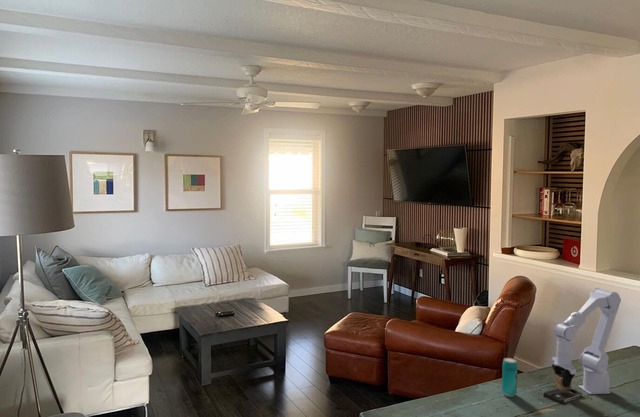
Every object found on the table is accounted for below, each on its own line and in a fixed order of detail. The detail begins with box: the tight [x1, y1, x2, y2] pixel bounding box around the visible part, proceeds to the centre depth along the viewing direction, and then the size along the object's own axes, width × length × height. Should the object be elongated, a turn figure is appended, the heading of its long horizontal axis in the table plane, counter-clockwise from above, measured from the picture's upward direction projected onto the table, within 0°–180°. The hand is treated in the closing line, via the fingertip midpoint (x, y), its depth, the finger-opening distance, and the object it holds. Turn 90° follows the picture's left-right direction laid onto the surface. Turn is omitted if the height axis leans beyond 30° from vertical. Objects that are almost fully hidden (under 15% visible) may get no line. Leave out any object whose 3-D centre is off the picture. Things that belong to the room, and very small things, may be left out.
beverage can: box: [501, 357, 518, 398], centre depth 210 cm, size 6×6×15 cm
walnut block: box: [554, 373, 572, 390], centre depth 209 cm, size 4×4×5 cm
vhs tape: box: [543, 388, 583, 404], centre depth 209 cm, size 14×8×2 cm, turn 118°
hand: (562, 384), depth 209 cm, fingers closed on walnut block, 4 cm apart
